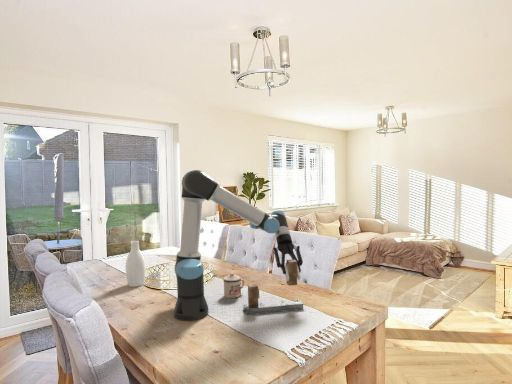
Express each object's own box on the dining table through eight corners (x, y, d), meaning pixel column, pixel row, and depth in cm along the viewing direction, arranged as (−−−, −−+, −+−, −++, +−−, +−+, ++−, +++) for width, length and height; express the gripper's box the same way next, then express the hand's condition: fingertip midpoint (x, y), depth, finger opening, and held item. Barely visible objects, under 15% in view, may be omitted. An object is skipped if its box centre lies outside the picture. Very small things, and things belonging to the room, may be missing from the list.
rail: (245, 314, 147) (245, 309, 147) (243, 308, 154) (243, 303, 154) (304, 309, 152) (304, 303, 152) (299, 303, 159) (299, 298, 159)
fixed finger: (249, 311, 151) (249, 287, 151) (248, 307, 155) (247, 284, 155) (259, 310, 152) (259, 286, 152) (258, 306, 156) (257, 283, 156)
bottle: (147, 286, 192) (145, 242, 191) (126, 288, 188) (124, 243, 187) (145, 280, 202) (144, 239, 201) (126, 283, 198) (124, 240, 197)
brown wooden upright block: (287, 285, 154) (287, 261, 154) (285, 283, 158) (285, 259, 158) (297, 285, 155) (297, 261, 155) (294, 282, 159) (294, 259, 159)
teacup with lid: (229, 299, 166) (229, 276, 166) (220, 295, 173) (219, 272, 173) (249, 294, 173) (248, 272, 173) (239, 290, 181) (239, 268, 180)
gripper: (298, 240, 173) (310, 281, 157) (265, 242, 169) (273, 284, 154) (301, 232, 167) (314, 273, 152) (267, 234, 164) (276, 276, 148)
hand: (293, 279), depth 153 cm, fingers closed on brown wooden upright block, 5 cm apart
